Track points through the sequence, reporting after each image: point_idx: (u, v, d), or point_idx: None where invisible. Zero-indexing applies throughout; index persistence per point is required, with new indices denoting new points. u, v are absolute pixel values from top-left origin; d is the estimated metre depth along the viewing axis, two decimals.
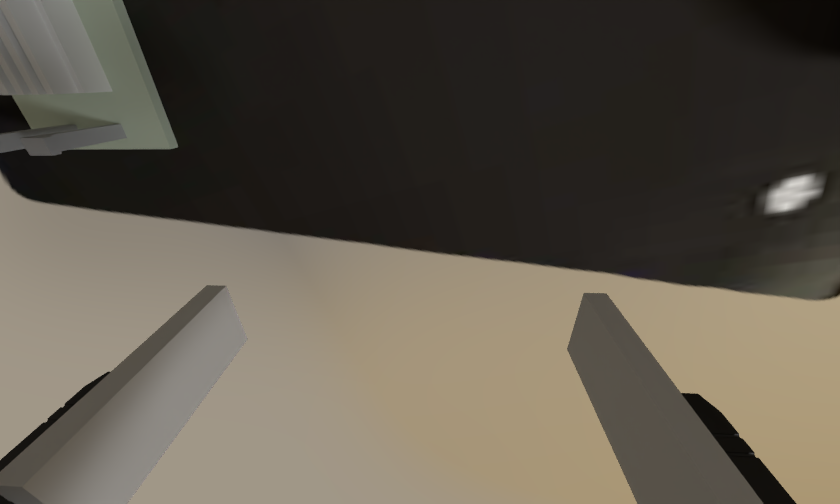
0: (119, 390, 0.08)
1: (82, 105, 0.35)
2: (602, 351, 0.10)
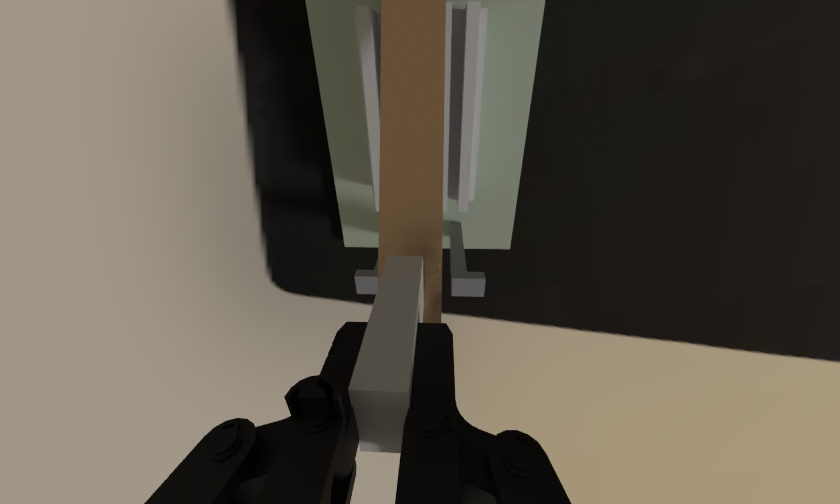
0: (388, 330, 0.09)
1: None
2: None
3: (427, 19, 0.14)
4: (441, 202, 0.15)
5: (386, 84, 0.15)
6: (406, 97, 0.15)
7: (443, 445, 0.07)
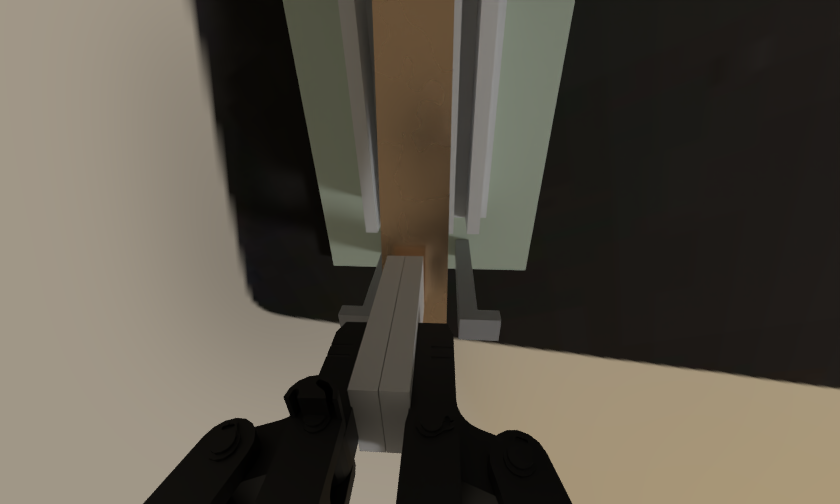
0: (387, 330, 0.09)
1: None
2: None
3: (431, 7, 0.11)
4: (447, 234, 0.14)
5: (382, 96, 0.12)
6: (406, 113, 0.12)
7: (444, 445, 0.07)
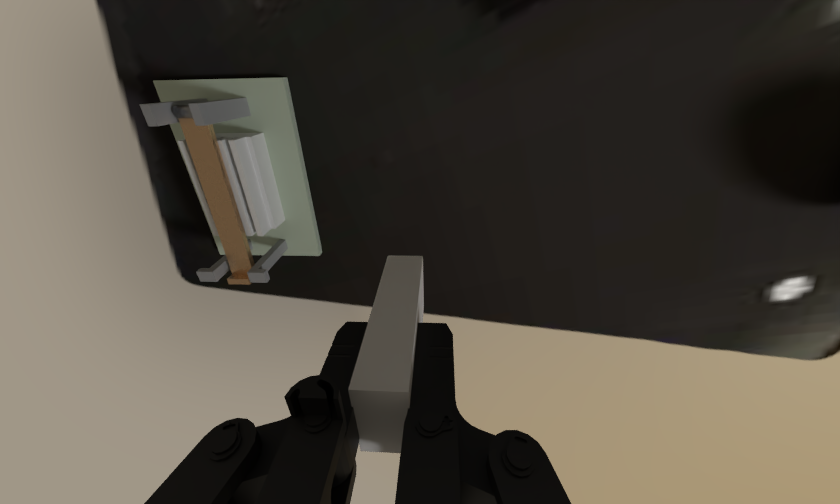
0: (388, 330, 0.09)
1: None
2: None
3: (211, 160, 0.35)
4: (238, 229, 0.39)
5: (203, 185, 0.37)
6: (213, 190, 0.37)
7: (443, 445, 0.07)
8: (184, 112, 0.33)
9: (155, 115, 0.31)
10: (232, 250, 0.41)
